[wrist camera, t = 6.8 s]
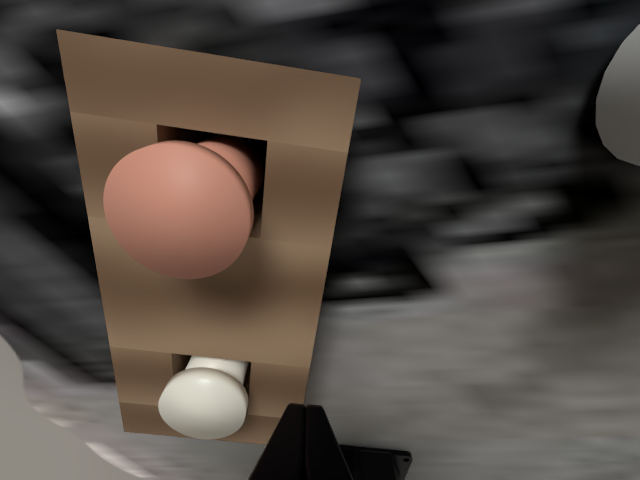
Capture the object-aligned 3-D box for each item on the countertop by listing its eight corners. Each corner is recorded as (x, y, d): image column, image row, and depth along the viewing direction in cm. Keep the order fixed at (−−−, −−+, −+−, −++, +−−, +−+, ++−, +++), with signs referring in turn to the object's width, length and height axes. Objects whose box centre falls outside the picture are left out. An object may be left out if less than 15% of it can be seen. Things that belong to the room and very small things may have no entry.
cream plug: (261, 356, 22) (243, 442, 17) (199, 349, 22) (160, 435, 17) (266, 306, 21) (247, 385, 15) (199, 299, 20) (155, 376, 15)
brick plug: (270, 218, 16) (245, 286, 11) (184, 207, 16) (112, 270, 10) (278, 129, 14) (252, 157, 9) (180, 115, 14) (93, 133, 9)
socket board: (300, 379, 24) (295, 447, 20) (162, 365, 24) (124, 431, 19) (349, 80, 16) (361, 78, 11) (135, 46, 15) (56, 29, 11)
